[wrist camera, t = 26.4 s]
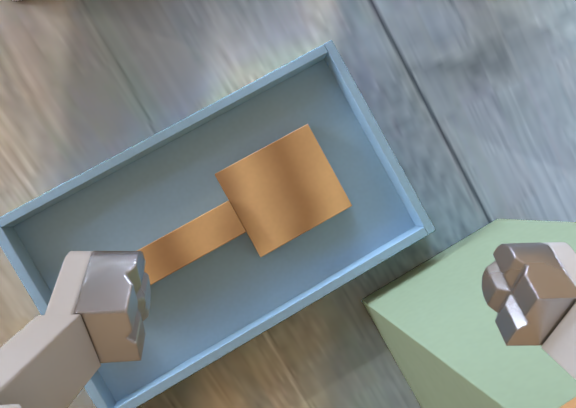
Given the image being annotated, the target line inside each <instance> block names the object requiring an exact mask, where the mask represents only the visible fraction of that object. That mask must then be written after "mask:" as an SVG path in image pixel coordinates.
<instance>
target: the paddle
mask: <svg viewBox="0 0 576 408" xmlns="http://www.w3.org/2000/svg"><path fill="white" fill-rule="evenodd" d="M215 176H216V178H217V180H218V182H219V184H220V185H221V187H222V189H223V191H224V193H225V194H226V196H227V198H228V200H229V201H226V202H225V203H223V204H221V205H219V206H217V207H216V208H214V209H212V210H210V211H208V212H206V213H205V214H203V215H201V216H199V217H197V218H195V219H194V220H192V221H190V222H188V223H186V224H184V225H183V226H181V227H179V228H177V229H175V230H173V231H172V232H170V233H168V234H166V235H164V236H163V237H161V238H159V239H157V240H155V241H153V242H152V243H150V244H148V245H146V246H144V247H142V248H141V249H139V250H137V251H142V252H143V254H144V257H145V261H146V262H145V268H144V272H145V273H147V274H148V275H149V280H150V285H152V284H154V283H156V282H158V281H159V280H161V279H163V278H165V277H167V276H168V275H170V274H172V273H174V272H176V271H177V270H179V269H181V268H183V267H184V266H186V265H188V264H190V263H192V262H193V261H195V260H197V259H199V258H201V257H202V256H204V255H206V254H208V253H210V252H211V251H213V250H215V249H217V248H219V247H220V246H222V245H224V244H226V243H228V242H229V241H231V240H233V239H235V238H237V237H238V236H240V235H242V234H244V233H245V232H247V234H248V236H249V238H250V239H251V241H252V243H253V245H254V247H255V248H256V250H257V252H258V254H259V255H260V257H263V256H264V255H266V254H268V253H270V252H272V251H273V250H275V249H277V248H279V247H280V246H282V245H284V244H286V243H287V242H289V241H291V240H293V239H295V238H296V237H298V236H300V235H302V234H303V233H305V232H307V231H309V230H311V229H312V228H314V227H316V226H318V225H319V224H321V223H323V222H325V221H326V220H328V219H330V218H332V217H334V216H335V215H337V214H339V213H341V212H342V211H344V210H346V209H348V208H349V207H351V206H352V204H351V202H350V200H349V199H348V197H347V195H346V193H345V191H344V189H343V188H342V186H341V184H340V182H339V180H338V178H337V177H336V175H335V173H334V171H333V169H332V167H331V166H330V164H329V162H328V160H327V158H326V156H325V154H324V153H323V151H322V149H321V147H320V145H319V143H318V142H317V140H316V138H315V136H314V134H313V132H312V131H311V129H310V127H309V125H308V124H306V125H304V126H302V127H301V128H299V129H297V130H295V131H293V132H291V133H289V134H288V135H286V136H284V137H282V138H280V139H278V140H277V141H275V142H273V143H271V144H269V145H267V146H265V147H264V148H262V149H260V150H258V151H256V152H254V153H252V154H251V155H249V156H247V157H245V158H243V159H241V160H239V161H238V162H236V163H234V164H232V165H230V166H228V167H227V168H225V169H223V170H221V171H219V172H217V173H215Z"/></svg>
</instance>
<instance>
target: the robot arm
mask: <svg viewBox="0 0 576 408" xmlns="http://www.w3.org/2000/svg"><path fill="white" fill-rule="evenodd" d="M12 1H20V0H12ZM493 256H494V258H495V260H496V261H494V262H493V263H491V264H490V265H488V266H487V267H486V269H485V271H484V273H483V275H482V292H483V296H484V298H485V301H486V303H487V305H488V306H489V307H491V308H492V309H493V310H494V311H496V312H497V316H496V319H495V322H496V325H497V327H498V329H499V331H500V333H501V335H502V337H503V339H504V342H505V344H506V346H538V345H542V346H541V348H542V349H543V350H544V351H545V352H547V353H548V354H549V355H550V356H551V357H552V358H553V359H554V360H555V361H556V362H557V363H558V364H559V365H560V366H561V367H563V368H564V369H565V370H566V371H567V372H568V373H569V374H570V375H571V376H572V377H573V378H574V379H575V380H576V253H575V252H574V251H573V249H572V248H571V246H569V245H568V244H567V243H565V242H549V243H540V242H539V243H507V244H501V245H499V246H498V247H497V248H496V250H495V251H494V253H493ZM145 262H146V261H145V257H144V254H143V252H142V251H70V252H69V253H68V254H67V255H66V257H65V259H64V262H63V264H62V267H61V270H60V273H59V276H58V278H57V281H56V284H55V287H54V290H53V293H52V295H51V298H50V301H49V304H48V307H47V309H46V312H45V315H37V316H36V317H35V318H34V319H32V320H31V321H30V322H29V323H28V324H27V325H26V326H24V327H23V328H22V329H21V330H20V331H19V332H17V333H16V334H15V335H14V336H13V337H12V338H11V339H9V340H8V341H7V342H6V343H5V344H4V345H3V346H1V347H0V408H68V406H69V405H70V404H71V403H72V401H73V400H74V399H75V397H76V396H77V395H78V394H79V392H80V391H81V390H82V389H83V387H84V386H85V385H86V384H87V382H88V381H89V380H90V379H91V377H92V376H93V375H94V374H95V372H96V371H97V370H98V369H99V367H100V366H101V364H100V363H111V362H126V361H141V358H142V352H143V346H144V340H145V334H146V333H145V329H144V324H143V321H144V320H145V319H146V318H147V317H148V316H149V309H150V297H151V288H150V280H149V275H148V274H147V273H145V272H144V268H145Z"/></svg>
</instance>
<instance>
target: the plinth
mask: <svg viewBox="0 0 576 408" xmlns="http://www.w3.org/2000/svg"><path fill="white" fill-rule="evenodd" d="M539 242H540V243H549V242H565V243H567V244H568V245H569V246H571V248H572V249H573V251H574V252H575V253H576V222H559V221H536V220H513V219H496V220H494V221H493V222H491V223H489V224H488V225H486V226H484V227H483V228H481V229H479V230H478V231H476V232H474V233H473V234H471V235H469V236H468V237H466V238H464V239H463V240H461V241H459V242H458V243H456V244H454V245H453V246H451V247H449V248H448V249H446V250H444V251H443V252H441V253H439V254H438V255H436V256H434V257H433V258H431V259H429V260H428V261H426V262H424V263H422V264H421V265H419V266H417V267H416V268H414V269H412V270H411V271H409V272H407V273H406V274H404V275H402V276H401V277H399V278H397V279H396V280H394V281H392V282H391V283H389V284H387V285H386V286H384V287H382V288H381V289H379V290H377V291H376V292H374V293H372V294H371V295H369V296H367V297H366V298H364V299H362V302H363V304H364V306H365V307H366V309H367V311H368V313H369V315H370V316H371V318H372V320H373V322H374V324H375V325H376V327H377V329H378V331H379V333H380V334H381V336H382V338H383V340H384V342H385V343H386V345H387V347H388V349H389V350H390V352H391V354H392V356H393V358H394V359H395V361H396V363H397V365H398V367H399V368H400V370H401V372H402V374H403V376H404V377H405V379H406V381H407V383H408V384H409V386H410V388H411V390H412V392H413V393H414V395H415V397H416V399H417V401H418V402H419V404H420V406H421V408H576V380H575V379H574V378H573V377H572V376H571V375H570V374H569V373H568V372H567V371H566V370H565V369H564V368H563V367H561V366H560V365H559V364H558V363H557V362H556V361H555V360H554V359H553V358H552V357H551V356H550V355H549V354H548V353H547V352H545V351H544V350H543V349H542V348H541V346H542V345H538V346H506V344H505V342H504V339H503V337H502V335H501V333H500V331H499V329H498V327H497V325H496V322H495V319H496V316H497V312H496V311H494V310H493V309H492V308H491V307H489V306H488V305H487V303H486V301H485V298H484V296H483V292H482V275H483V273H484V271H485V269H486V267H487V266H488V265H490V264H491V263H493V262H494V261H496V260H495V258H494V256H493V253H494V251H495V250H496V248H497V247H498V246H499V245H501V244H507V243H539Z"/></svg>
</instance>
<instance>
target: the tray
mask: <svg viewBox="0 0 576 408" xmlns="http://www.w3.org/2000/svg"><path fill="white" fill-rule="evenodd" d="M306 124H308V125H309V127H310V129H311V131H312V132H313V134H314V136H315V138H316V140H317V142H318V143H319V145H320V147H321V149H322V151H323V153H324V154H325V156H326V158H327V160H328V162H329V164H330V166H331V167H332V169H333V171H334V173H335V175H336V177H337V178H338V180H339V182H340V184H341V186H342V188H343V189H344V191H345V193H346V195H347V197H348V199H349V200H350V202H351V204H352V206H351V207H349V208H348V209H346V210H344V211H342V212H341V213H339V214H337V215H335V216H334V217H332V218H330V219H328V220H326V221H325V222H323V223H321V224H319V225H318V226H316V227H314V228H312V229H311V230H309V231H307V232H305V233H303V234H302V235H300V236H298V237H296V238H295V239H293V240H291V241H289V242H287V243H286V244H284V245H282V246H280V247H279V248H277V249H275V250H273V251H272V252H270V253H268V254H266V255H264V256H263V257H260V255H259V254H258V252H257V250H256V248H255V247H254V245H253V243H252V241H251V239H250V238H249V236H248V234H247V232H245V233H244V234H242V235H240V236H238V237H237V238H235V239H233V240H231V241H229V242H228V243H226V244H224V245H222V246H220V247H219V248H217V249H215V250H213V251H211V252H210V253H208V254H206V255H204V256H202V257H201V258H199V259H197V260H195V261H193V262H192V263H190V264H188V265H186V266H184V267H183V268H181V269H179V270H177V271H176V272H174V273H172V274H170V275H168V276H167V277H165V278H163V279H161V280H159V281H158V282H156V283H154V284H152V285H150V288H151V297H150V309H149V316H148V317H147V318H146V319H145V320H144V321H143V324H144V329H145V333H146V334H145V340H144V346H143V352H142V358H141V361H126V362H111V363H100V364H101V366H100V367H99V369H98V370H97V371H96V372H95V374H94V375H93V376H92V377H91V379H90V380H89V381H88V382H87V384H86V385H85V386H84V388H85V389H86V391H87V393H88V394H89V396H90V398H91V399H92V401H93V403H94V404H95V406H96V408H136V407H138V406H140V405H141V404H143V403H145V402H147V401H148V400H150V399H152V398H153V397H155V396H157V395H158V394H160V393H162V392H163V391H165V390H167V389H168V388H170V387H172V386H174V385H175V384H177V383H179V382H180V381H182V380H184V379H185V378H187V377H189V376H190V375H192V374H194V373H196V372H197V371H199V370H201V369H202V368H204V367H206V366H207V365H209V364H211V363H212V362H214V361H216V360H217V359H219V358H221V357H223V356H224V355H226V354H228V353H229V352H231V351H233V350H234V349H236V348H238V347H239V346H241V345H243V344H245V343H246V342H248V341H250V340H251V339H253V338H255V337H256V336H258V335H260V334H261V333H263V332H265V331H266V330H268V329H270V328H272V327H273V326H275V325H277V324H278V323H280V322H282V321H283V320H285V319H287V318H288V317H290V316H292V315H294V314H295V313H297V312H299V311H300V310H302V309H304V308H305V307H307V306H309V305H310V304H312V303H314V302H315V301H317V300H319V299H321V298H322V297H324V296H326V295H327V294H329V293H331V292H332V291H334V290H336V289H337V288H339V287H341V286H342V285H344V284H346V283H348V282H349V281H351V280H353V279H354V278H356V277H358V276H359V275H361V274H363V273H364V272H366V271H368V270H370V269H371V268H373V267H375V266H376V265H378V264H380V263H381V262H383V261H385V260H386V259H388V258H390V257H391V256H393V255H395V254H397V253H398V252H400V251H402V250H403V249H405V248H407V247H408V246H410V245H412V244H413V243H415V242H417V241H419V240H420V239H422V238H424V237H425V236H427V235H428V234H430V233H432V232H434V231H435V228H434V226H433V224H432V222H431V221H430V219H429V217H428V215H427V213H426V211H425V210H424V208H423V206H422V204H421V202H420V200H419V199H418V197H417V195H416V193H415V191H414V189H413V188H412V186H411V184H410V182H409V180H408V178H407V177H406V175H405V173H404V171H403V169H402V167H401V166H400V164H399V162H398V160H397V158H396V157H395V155H394V153H393V151H392V149H391V147H390V146H389V144H388V142H387V140H386V138H385V136H384V135H383V133H382V131H381V129H380V127H379V125H378V124H377V122H376V120H375V118H374V116H373V114H372V113H371V111H370V109H369V107H368V105H367V103H366V102H365V100H364V98H363V96H362V94H361V92H360V91H359V89H358V87H357V85H356V83H355V82H354V80H353V78H352V76H351V74H350V72H349V71H348V69H347V67H346V65H345V63H344V61H343V60H342V58H341V56H340V54H339V52H338V50H337V49H336V47H335V45H334V43H333V41H332V40H330V41H329V42H327V43H325V44H324V45H321V46H319V47H317V48H316V49H314V50H312V51H310V52H308V53H306V54H304V55H302V56H301V57H299V58H297V59H295V60H293V61H291V62H289V63H288V64H286V65H284V66H282V67H280V68H278V69H276V70H274V71H273V72H271V73H269V74H267V75H265V76H263V77H261V78H259V79H258V80H256V81H254V82H252V83H250V84H248V85H246V86H244V87H243V88H241V89H239V90H237V91H235V92H233V93H231V94H230V95H228V96H226V97H224V98H222V99H220V100H218V101H216V102H215V103H213V104H211V105H209V106H207V107H205V108H203V109H201V110H200V111H198V112H196V113H194V114H192V115H190V116H188V117H186V118H185V119H183V120H181V121H179V122H177V123H175V124H173V125H172V126H170V127H168V128H166V129H164V130H162V131H160V132H158V133H157V134H155V135H153V136H151V137H149V138H147V139H145V140H143V141H142V142H140V143H138V144H136V145H134V146H132V147H130V148H129V149H127V150H125V151H123V152H121V153H119V154H117V155H115V156H114V157H112V158H110V159H108V160H106V161H104V162H102V163H100V164H99V165H97V166H95V167H93V168H91V169H89V170H87V171H85V172H84V173H82V174H80V175H78V176H76V177H74V178H72V179H71V180H69V181H67V182H65V183H63V184H61V185H59V186H57V187H56V188H54V189H52V190H50V191H48V192H46V193H44V194H42V195H41V196H39V197H37V198H35V199H33V200H31V201H29V202H27V203H26V204H24V205H22V206H20V207H18V208H16V209H14V210H13V211H11V212H9V213H7V214H5V215H3V216H1V217H0V246H1V248H2V249H3V251H4V253H5V255H6V256H7V258H8V260H9V261H10V263H11V265H12V266H13V268H14V270H15V271H16V273H17V275H18V276H19V278H20V280H21V281H22V283H23V285H24V287H25V288H26V290H27V292H28V293H29V295H30V297H31V298H32V300H33V302H34V303H35V305H36V307H37V308H38V310H39V312H40V313H41V315H45V312H46V309H47V307H48V304H49V301H50V298H51V295H52V293H53V290H54V287H55V284H56V281H57V278H58V276H59V273H60V270H61V267H62V264H63V262H64V259H65V257H66V255H67V254H68V253H69V252H70V251H137V250H139V249H141V248H142V247H144V246H146V245H148V244H150V243H152V242H153V241H155V240H157V239H159V238H161V237H163V236H164V235H166V234H168V233H170V232H172V231H173V230H175V229H177V228H179V227H181V226H183V225H184V224H186V223H188V222H190V221H192V220H194V219H195V218H197V217H199V216H201V215H203V214H205V213H206V212H208V211H210V210H212V209H214V208H216V207H217V206H219V205H221V204H223V203H225V202H226V201H229V200H228V198H227V196H226V194H225V193H224V191H223V189H222V187H221V185H220V184H219V182H218V180H217V178H216V176H215V173H217V172H219V171H221V170H223V169H225V168H227V167H228V166H230V165H232V164H234V163H236V162H238V161H239V160H241V159H243V158H245V157H247V156H249V155H251V154H252V153H254V152H256V151H258V150H260V149H262V148H264V147H265V146H267V145H269V144H271V143H273V142H275V141H277V140H278V139H280V138H282V137H284V136H286V135H288V134H289V133H291V132H293V131H295V130H297V129H299V128H301V127H302V126H304V125H306Z"/></svg>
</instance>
